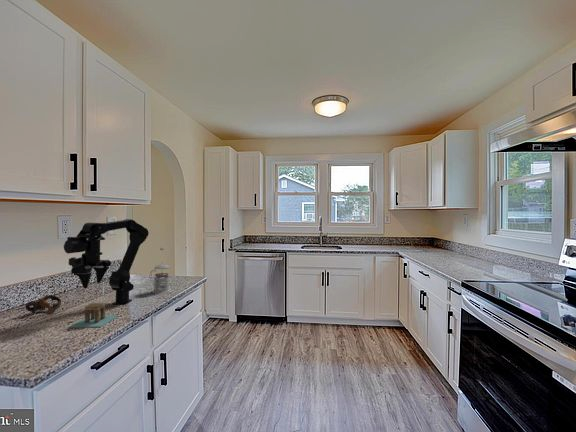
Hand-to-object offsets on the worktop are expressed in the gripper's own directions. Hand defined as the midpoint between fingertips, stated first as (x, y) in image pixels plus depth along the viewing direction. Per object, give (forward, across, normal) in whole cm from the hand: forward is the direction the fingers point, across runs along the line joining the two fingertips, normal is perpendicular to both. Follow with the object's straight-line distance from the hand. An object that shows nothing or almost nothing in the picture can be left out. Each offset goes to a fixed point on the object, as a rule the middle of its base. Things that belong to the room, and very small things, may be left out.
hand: (92, 285), depth 127 cm
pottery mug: (+12, 0, -21) cm, 24 cm away
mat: (+12, +11, +8) cm, 18 cm away
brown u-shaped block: (+12, +11, +8) cm, 18 cm away
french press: (+12, -35, +16) cm, 40 cm away
